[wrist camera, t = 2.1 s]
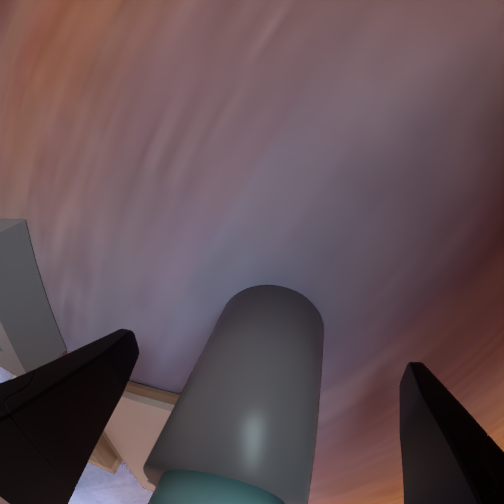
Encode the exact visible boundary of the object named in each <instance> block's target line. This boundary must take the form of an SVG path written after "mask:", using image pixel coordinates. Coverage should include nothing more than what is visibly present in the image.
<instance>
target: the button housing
mask: <svg viewBox="0 0 504 504" xmlns="http://www.w3.org/2000/svg"><path fill="white" fill-rule="evenodd" d="M65 350H66V347H65V344H64V342H63V340H62V337H61V335H60V332H59V330H58V327H57V325H56V322H55V319H54V317H53V314H52V311H51V308H50V305H49V303H48V300H47V297H46V294H45V291H44V288H43V285H42V281H41V278H40V275H39V271H38V268H37V264H36V261H35V257H34V254H33V250H32V246H31V242H30V238H29V233H28V229H27V225H26V220H9V219H0V366H1V367H2V368H4V369H6V370H7V371H9V372H11V373H12V374H14V375H16V376H17V377H18V376H20V375H23V374H25V373H27V372H29V371H31V370H34V369H37V368H38V367H40V366H42V365H45V364H47V363H49V362H51V361H53V360H55V359H58V358H59V357H60V356H61V355H62V354H63V353H64V351H65Z"/></svg>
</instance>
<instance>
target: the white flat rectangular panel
mask: <svg viewBox="0 0 504 504" xmlns="http://www.w3.org/2000/svg"><path fill="white" fill-rule="evenodd" d="M179 396H180V394H175V393H171V392H167V391H163V390H159V389H156V388H152V387H148V386H144V385H141V384H137V383H134V382H130V381H128V383H127V386H126V388H125V390H124V393H123V395H122V397H121V399H120V400H119V402H118V404H117V406H116V408H115V410H114V412H113V414H112V416H111V418H110V419H109V421H108V423H107V425H106V427H105V429H104V431H105V433H106V435H107V436H108V438H109V439H110V441H111V443H112V444H113V446H114V447H115V449H116V450H117V452H118V453H119V455H120V456H121V458H122V459H123V461H124V462H125V464H126V465H127V466H128V468H129V469H130V471H131V472H132V473H133V475H134V476H135V478H136V479H137V480H138V482H139V483H140V484H141V485H142V487H143V488H145V489H148V490H151V491H153V492H154V490H155V488H156V487H155V486H154V485H153V484H152V483H151V482H150V481H149V480H148V478H147V477H146V475H145V474H144V471H143V466H144V464H145V462H146V460H147V458H148V456H149V454H150V452H151V450H152V448H153V446H154V445H155V443H156V441H157V439H158V437H159V435H160V433H161V431H162V429H163V427H164V425H165V423H166V421H167V419H168V417H169V416H170V414H171V412H172V410H173V408H174V406H175V404H176V402H177V400H178V398H179Z"/></svg>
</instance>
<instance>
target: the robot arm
mask: <svg viewBox="0 0 504 504" xmlns="http://www.w3.org/2000/svg"><path fill="white" fill-rule="evenodd" d="M138 356H139V348H138V345H137V341H136V338H135V334H134V333H133V331H131V330H127V329H120V330H117V331H115V332H113V333H111V334H109V335H107V336H105V337H103V338H100V339H98V340H96V341H94V342H92V343H90V344H88V345H86V346H83V347H81V348H79V349H77V350H75V351H73V352H71V353H68V354H66V355H64V356H62V357H60V358H58V359H55V360H53V361H51V362H49V363H47V364H45V365H42V366H40V367H38V368H37V369H34V370H31V371H29V372H27V373H25V374H23V375H20V376H18V377H16V378H13V379H10V380H8V381H5V382H2V383H0V504H68V502H69V500H70V498H71V496H72V494H73V492H74V490H75V487H76V485H77V483H78V481H79V479H80V477H81V475H82V473H83V471H84V469H85V467H86V465H87V463H88V461H89V459H90V457H91V455H92V453H93V451H94V449H95V447H96V445H97V443H98V441H99V439H100V437H101V435H102V433H103V431H104V429H105V427H106V425H107V423H108V421H109V419H110V418H111V416H112V414H113V412H114V410H115V408H116V406H117V404H118V402H119V400H120V399H121V397H122V395H123V393H124V390H125V388H126V386H127V383H128V381H129V378H130V376H131V373H132V371H133V368H134V366H135V363H136V361H137V359H138ZM400 442H401V454H402V467H403V485H404V504H504V452H503V451H502V450H501V448H500V447H499V446H498V445H497V444H496V443H495V442H494V441H493V439H492V438H491V437H490V436H489V435H488V436H487V433H486V432H485V430H484V429H483V428H482V427H481V426H480V425H479V424H478V423H477V421H476V420H475V419H474V418H473V417H472V416H471V415H470V414H469V412H468V411H467V410H466V409H465V408H464V407H463V406H462V405H461V404H460V403H459V401H458V400H457V399H456V398H455V397H454V396H453V395H452V394H451V393H450V392H449V391H448V390H447V388H446V387H445V386H444V385H443V384H442V383H441V382H440V381H439V380H438V379H437V378H436V377H435V376H434V375H433V373H432V372H431V371H430V370H429V369H428V368H427V367H426V366H425V365H424V364H423V363H421V362H410V363H408V365H407V367H406V369H405V372H404V374H403V377H402V379H401V382H400Z"/></svg>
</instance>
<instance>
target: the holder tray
mask: <svg viewBox="0 0 504 504" xmlns="http://www.w3.org/2000/svg"><path fill="white" fill-rule="evenodd" d="M16 377H17V376H16V375H14V376H13V377H12V378H11V379H13V378H16ZM122 460H123V459H122V458H121V456H120V455H119V453H118V452H117V450H116V449H115V447H114V446H113V444H112V443H111V441H110V439H109V438H108V436H107V435H106V433H105V431H103V433H102V435H101V437H100V439H99V441H98V443H97V445H96V447H95V449H94V451H93V453H92V455H91V457H90V459H89V461H88V462H89V463H91V464H93V465H95V466H98V467H100V468H102V469H104V470H106V471H109V472H111V473H113V474H115V472H116V471H117V469H118V467H119V465H120V464H121V462H122Z"/></svg>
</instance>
